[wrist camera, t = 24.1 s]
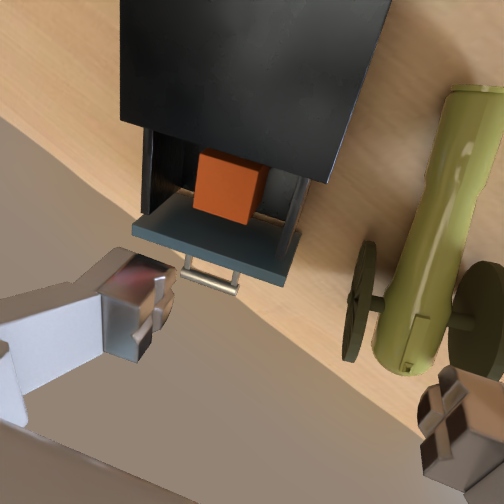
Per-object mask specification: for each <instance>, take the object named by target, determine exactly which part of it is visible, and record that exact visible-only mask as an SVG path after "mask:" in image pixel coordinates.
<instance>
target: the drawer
mask: <svg viewBox="0 0 504 504" xmlns="http://www.w3.org/2000/svg"><path fill="white" fill-rule="evenodd" d="M206 148H208V147H205V146H202V145H198V144H195V143H192V142H189V141H186V140H182V139H179V138H176V137H173V136H169V135H166V134H163V133H160V132H156V131H153V130H150V129H147V128H144V132H143V161H142V190H141V213H143V214H144V215H142V216H141V217H140V218H139V219H138V220H136V221H135V222H134V223H133V224H132V235H133V236H136V237H139V238H142V239H145V240H147V241H151V242H153V243H156V244H159V245H162V246H165V247H168V248H170V249H173V250H176V251H179V252H182V253H185V254H186V256H185V264H184V266H183V268H182V270H181V273H180V276H181V277H182V278H185V279H188V280H190V281H193V282H196V283H199V284H201V285H204V286H207V287H210V288H213V289H216V290H218V291H222V292H224V293H227V294H230V295H232V296H236V295H237V293H238V290H239V287H240V284H238V280H239V276H240V273H242V274H245V275H248V276H251V277H254V278H257V279H259V280H262V281H265V282H268V283H271V284H274V285H277V286H280V287H284V284H285V281H286V278H287V275H288V272H289V269H290V266H291V263H292V261H293V258H294V255H295V252H296V249H297V246H298V243H299V240H300V237H301V233H298V232H295V229H296V226H297V224H298V221H299V218H300V215H301V212H302V208H303V205H304V202H305V199H306V196H307V193H308V190H309V187H310V184H311V181H312V180H311V179H308V178H305V177H302V176H298V175H295V174H292V173H289V172H286V171H282V170H279V169H276V168H273V167H270V168H269V172H268V176H267V180H266V185H265V189H264V193H263V197H262V201H261V203H260V204H259V206H258V208H257V209H256V211H255V212H258V213H261V214H264V215H267V216H270V217H273V218H276V219H279V220H282V221H285V223H284V226H283V228H282V227H279V226H276V225H273V224H270V223H267V222H264V221H261V220H258V219H255V218H252V217H251V219H250V220H249V222H248V224H247V225H244V224H241V223H238V222H235V221H232V220H229V219H226V218H223V217H220V216H217V215H214V214H211V213H208V212H205V211H202V210H199V209H196V208H193V202H194V198H191V197H188V196H185V195H182V194H179V193H176V192H177V191H178V190H179V189H180V188H184V189H187V190H190V191H193V192H195V186H196V179H197V171H198V163H199V155H200V153H201V152H202V151H204V150H205V149H206ZM193 257H196V258H199V259H202V260H205V261H208V262H211V263H214V264H216V265H219V266H222V267H225V268H228V269H231V270H234V272H233V276H232V281H229V280H226V279H223V278H221V277H218V276H215V275H212V274H209V273H206V272H203V271H201V270H198V269H195V268H192V260H193Z"/></svg>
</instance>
